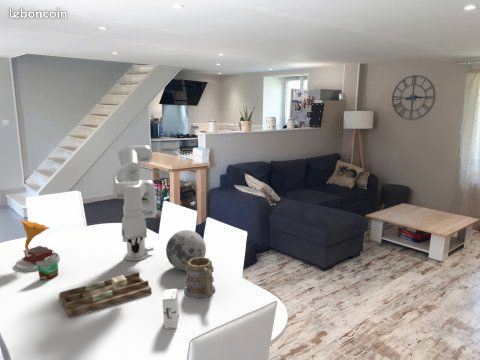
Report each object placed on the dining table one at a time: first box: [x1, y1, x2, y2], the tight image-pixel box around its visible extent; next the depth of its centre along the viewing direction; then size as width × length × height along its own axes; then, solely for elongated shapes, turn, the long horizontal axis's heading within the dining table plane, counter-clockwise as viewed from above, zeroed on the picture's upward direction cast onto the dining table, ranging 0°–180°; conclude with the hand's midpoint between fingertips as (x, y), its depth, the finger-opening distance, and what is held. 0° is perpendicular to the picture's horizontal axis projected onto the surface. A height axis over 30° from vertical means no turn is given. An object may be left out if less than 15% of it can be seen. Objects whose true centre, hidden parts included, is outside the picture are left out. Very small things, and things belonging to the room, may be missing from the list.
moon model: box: [165, 229, 207, 271], centre depth 186 cm, size 20×20×20 cm
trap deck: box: [58, 271, 153, 319], centre depth 159 cm, size 34×18×4 cm, turn 127°
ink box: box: [162, 288, 180, 330], centre depth 139 cm, size 9×5×12 cm, turn 5°
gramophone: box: [15, 219, 61, 272], centre depth 192 cm, size 20×20×25 cm
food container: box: [36, 251, 61, 281], centre depth 177 cm, size 12×6×10 cm, turn 168°
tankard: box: [184, 257, 216, 299], centre depth 160 cm, size 20×13×15 cm, turn 23°
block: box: [111, 274, 127, 289], centre depth 162 cm, size 5×5×4 cm
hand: (135, 252), depth 165 cm, fingers closed
